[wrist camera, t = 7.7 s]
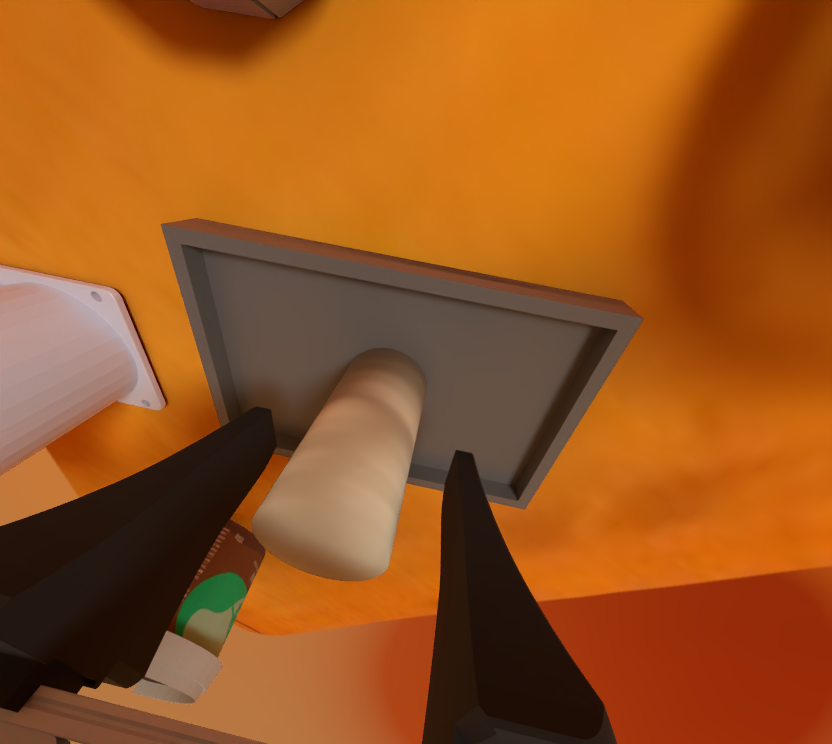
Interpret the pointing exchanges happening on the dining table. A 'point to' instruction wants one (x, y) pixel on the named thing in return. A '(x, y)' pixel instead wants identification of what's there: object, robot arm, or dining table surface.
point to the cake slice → (204, 619)
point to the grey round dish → (251, 6)
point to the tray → (398, 346)
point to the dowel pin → (348, 473)
